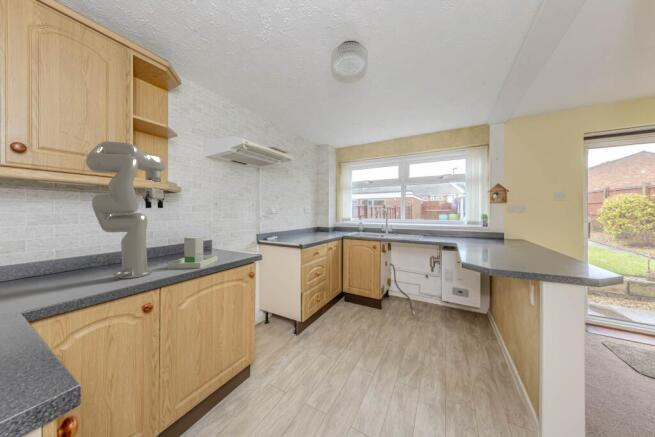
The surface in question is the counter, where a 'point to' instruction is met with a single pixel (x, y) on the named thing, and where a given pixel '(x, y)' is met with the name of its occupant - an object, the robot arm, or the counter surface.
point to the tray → (181, 265)
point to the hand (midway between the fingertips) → (154, 208)
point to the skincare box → (193, 249)
